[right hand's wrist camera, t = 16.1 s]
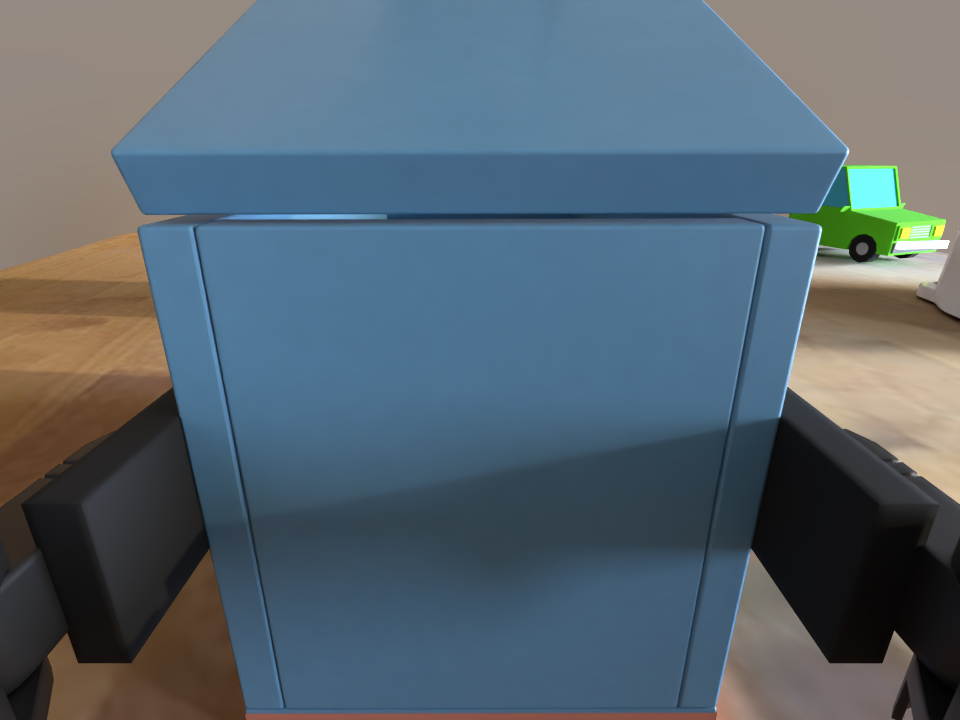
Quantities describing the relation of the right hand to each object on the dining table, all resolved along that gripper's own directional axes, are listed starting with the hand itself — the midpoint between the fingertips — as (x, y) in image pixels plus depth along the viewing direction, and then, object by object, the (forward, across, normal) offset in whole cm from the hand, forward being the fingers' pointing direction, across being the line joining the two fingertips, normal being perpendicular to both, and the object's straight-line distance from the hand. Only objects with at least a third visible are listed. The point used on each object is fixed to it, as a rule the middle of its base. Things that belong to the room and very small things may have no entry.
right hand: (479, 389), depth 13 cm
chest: (+5, 0, -6) cm, 8 cm away
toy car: (+53, +45, -6) cm, 70 cm away
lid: (+4, 0, +9) cm, 10 cm away
